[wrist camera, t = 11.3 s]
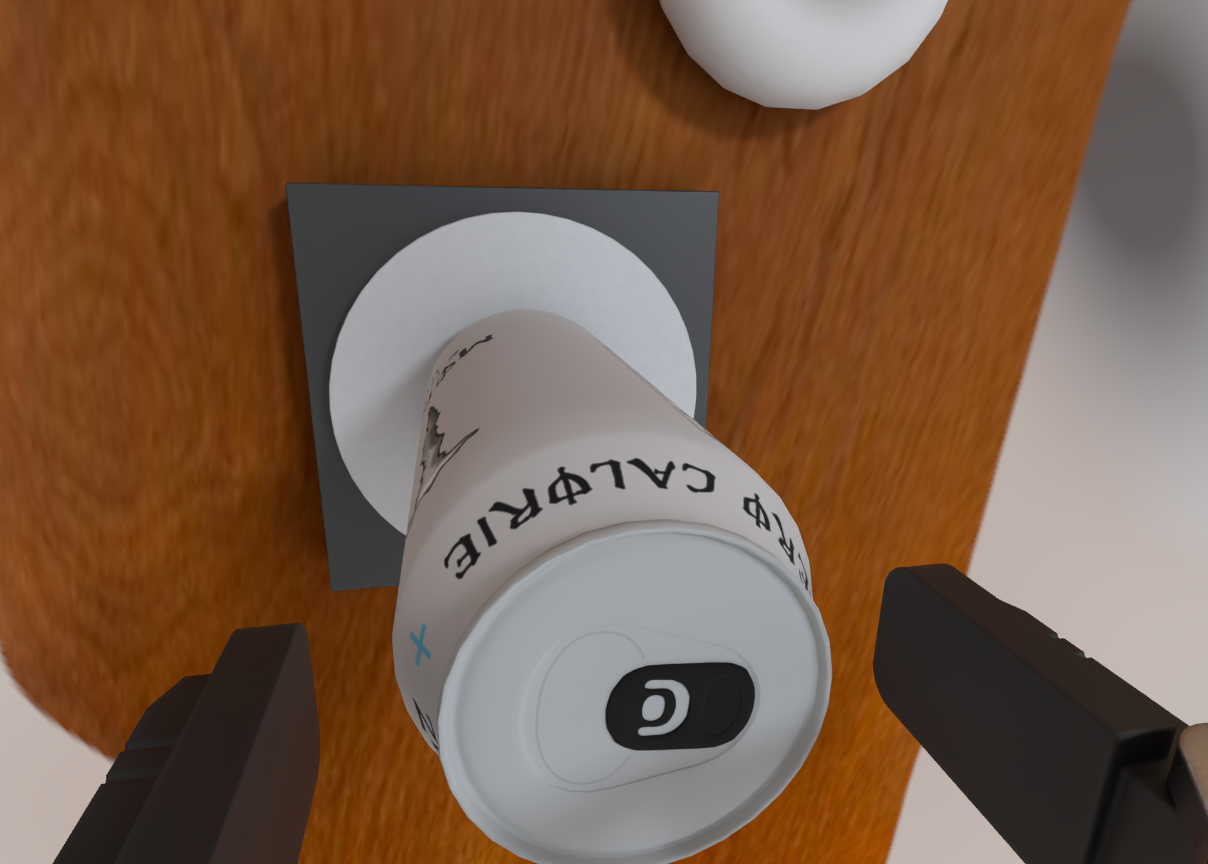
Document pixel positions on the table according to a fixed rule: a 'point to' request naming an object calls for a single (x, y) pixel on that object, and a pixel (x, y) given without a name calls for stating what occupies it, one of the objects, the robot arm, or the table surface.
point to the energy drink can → (598, 606)
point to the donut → (801, 45)
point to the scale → (474, 317)
